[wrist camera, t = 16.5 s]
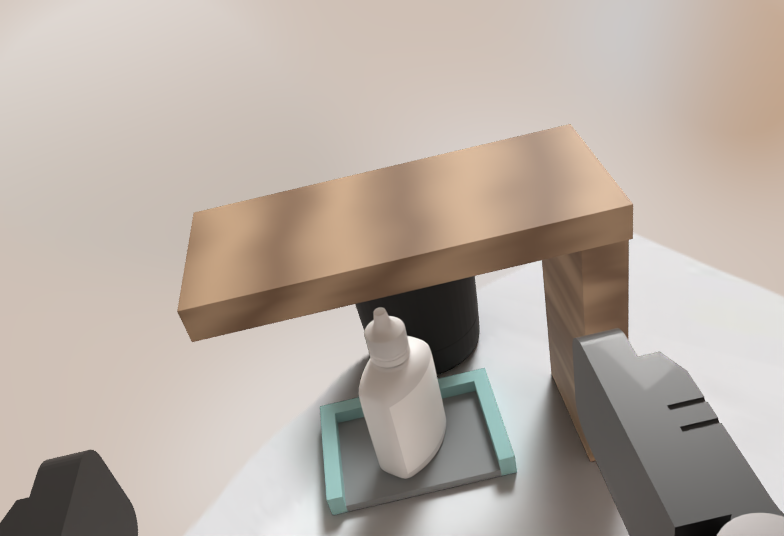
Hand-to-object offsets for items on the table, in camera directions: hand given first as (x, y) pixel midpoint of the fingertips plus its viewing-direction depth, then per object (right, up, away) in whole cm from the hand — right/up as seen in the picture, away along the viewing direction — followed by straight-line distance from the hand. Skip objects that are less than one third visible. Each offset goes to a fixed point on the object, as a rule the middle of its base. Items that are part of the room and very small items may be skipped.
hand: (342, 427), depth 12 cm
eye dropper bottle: (+2, -9, +37) cm, 38 cm away
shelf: (+4, -9, +37) cm, 39 cm away
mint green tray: (+2, -10, +37) cm, 38 cm away
